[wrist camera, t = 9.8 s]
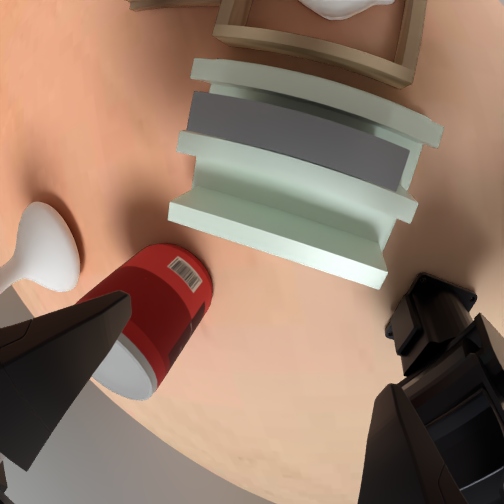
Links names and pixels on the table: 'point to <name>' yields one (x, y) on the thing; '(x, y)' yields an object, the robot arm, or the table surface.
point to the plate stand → (169, 3)
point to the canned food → (153, 317)
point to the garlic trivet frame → (327, 43)
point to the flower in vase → (43, 251)
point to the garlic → (341, 7)
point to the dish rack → (300, 175)
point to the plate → (299, 136)
